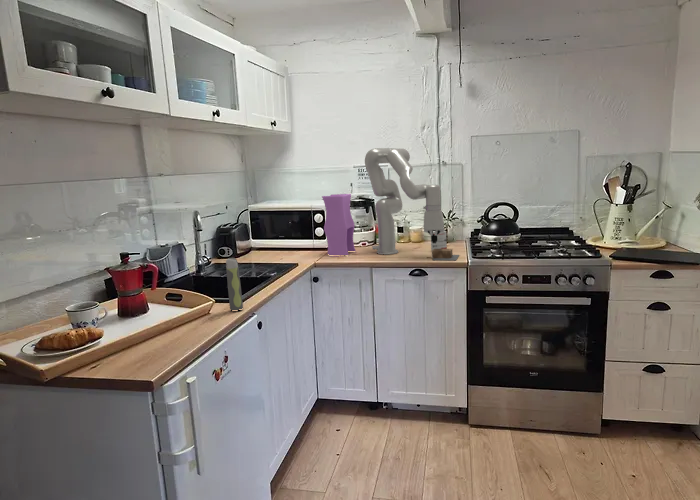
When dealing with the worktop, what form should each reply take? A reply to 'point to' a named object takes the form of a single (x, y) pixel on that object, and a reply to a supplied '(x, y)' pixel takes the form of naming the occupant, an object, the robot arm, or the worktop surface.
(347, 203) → the container
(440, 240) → the ink box
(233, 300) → the grey green tall block
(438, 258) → the mat
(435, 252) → the walnut block
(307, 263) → the worktop surface
